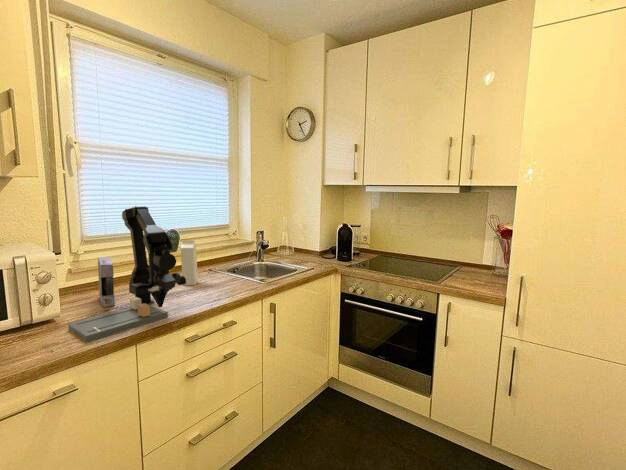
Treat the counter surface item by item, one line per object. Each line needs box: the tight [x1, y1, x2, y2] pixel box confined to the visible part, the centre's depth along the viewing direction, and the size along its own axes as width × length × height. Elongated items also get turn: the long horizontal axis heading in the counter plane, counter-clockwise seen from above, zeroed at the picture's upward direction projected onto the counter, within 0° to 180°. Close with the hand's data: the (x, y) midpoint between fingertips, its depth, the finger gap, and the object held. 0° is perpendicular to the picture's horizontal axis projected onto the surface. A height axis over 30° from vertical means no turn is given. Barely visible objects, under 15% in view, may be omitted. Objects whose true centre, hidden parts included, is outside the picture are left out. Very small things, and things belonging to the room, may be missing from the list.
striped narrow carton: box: [97, 256, 116, 308], centre depth 139 cm, size 19×5×18 cm, turn 35°
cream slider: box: [129, 296, 141, 310], centre depth 125 cm, size 4×2×4 cm, turn 52°
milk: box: [180, 240, 199, 286], centre depth 166 cm, size 6×6×22 cm
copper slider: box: [137, 303, 151, 317], centre depth 117 cm, size 4×2×4 cm, turn 52°
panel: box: [67, 303, 169, 343], centre depth 116 cm, size 16×26×2 cm, turn 142°
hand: (160, 307), depth 122 cm, fingers closed
